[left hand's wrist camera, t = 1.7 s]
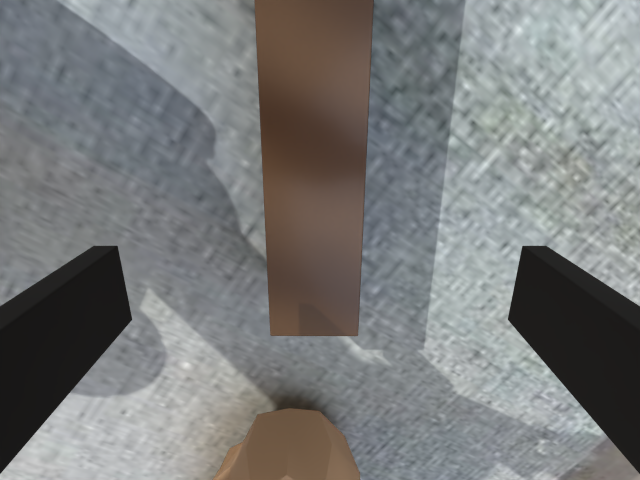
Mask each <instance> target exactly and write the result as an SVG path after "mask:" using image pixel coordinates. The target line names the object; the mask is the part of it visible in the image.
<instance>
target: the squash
mask: <svg viewBox="0 0 640 480" xmlns="http://www.w3.org/2000/svg"><path fill="white" fill-rule="evenodd" d="M213 480H360V472H359V470H358V468H357V465H356V463H355V460H354V458H353V456H352V453H351V451H350V448H349V446H348V443H347V441H346V439H345V436H344V435H343V434H342V433H341V432H340V431H339V430H338V429H337V428H336V427H335V426H334V425H333V424H332V423H331V422H330V421H329V420H328V419H327V418H326V417H325V416H324V415H323V414H322V413H321V412H320V411H314V410H304V409H293V408H287V409H282V410H277V411H272V412H267V413H262V414H258V415H257V417H256V419H255V421H254V423H253V424H252V426H251V428H250V430H249V432H248V434H247V436H246V438H245V439H244V441H243V442H242V443H240V444H238V445H236V446H234V447H232V448H230V449H229V451H228V453H227V455H226V457H225V460H224V462H223V464H222V466H221V468H220V469H219V471H218V472H217V474H216V476H215V477H214V479H213Z"/></svg>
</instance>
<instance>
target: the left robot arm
mask: <svg viewBox="0 0 640 480" xmlns="http://www.w3.org/2000/svg"><path fill="white" fill-rule="evenodd" d="M131 320H132V316H131V311H130V306H129V301H128V296H127V291H126V286H125V281H124V276H123V271H122V266H121V261H120V256H119V251H118V246H93V247H91V248H90V249H88V250H87V251H85V252H84V253H82V254H81V255H79V256H78V257H76V258H74V259H73V260H71V261H70V262H68V263H67V264H65V265H64V266H62V267H60V268H59V269H57V270H56V271H54V272H53V273H51V274H50V275H48V276H47V277H45V278H43V279H42V280H40V281H39V282H37V283H36V284H34V285H33V286H31V287H30V288H28V289H26V290H25V291H23V292H22V293H20V294H19V295H17V296H16V297H14V298H13V299H11V300H9V301H8V302H6V303H5V304H3V305H2V306H0V473H1V472H2V471H3V470H4V469H5V468H6V466H7V465H8V464H9V463H10V462H11V461H12V459H13V458H14V457H15V456H16V455H17V454H18V452H19V451H20V450H21V449H22V448H23V447H24V445H25V444H26V443H27V442H28V441H29V440H30V438H31V437H32V436H33V435H34V434H35V433H36V431H37V430H38V429H39V428H40V427H41V426H42V424H43V423H44V422H45V421H46V420H47V419H48V417H49V416H50V415H51V414H52V413H53V412H54V410H55V409H56V408H57V407H58V406H59V404H60V403H61V402H62V401H63V400H64V399H65V397H66V396H67V395H68V394H69V393H70V392H71V390H72V389H73V388H74V387H75V386H76V385H77V383H78V382H79V381H80V380H81V379H82V378H83V376H84V375H85V374H86V373H87V372H88V371H89V369H90V368H91V367H92V366H93V365H94V364H95V362H96V361H97V360H98V359H99V358H100V357H101V355H102V354H103V353H104V352H105V351H106V350H107V348H108V347H109V346H110V345H111V344H112V342H113V341H114V340H115V339H116V338H117V337H118V335H119V334H120V333H121V332H122V331H123V330H124V328H125V327H126V326H127V325H128V324H129V323H130V321H131ZM508 320H509V321H510V323H511V324H512V325H513V326H514V327H515V328H516V330H517V331H518V332H519V333H520V334H521V335H522V337H523V338H524V339H525V340H526V341H527V342H528V344H529V345H530V346H531V347H532V348H533V350H534V351H535V352H536V353H537V354H538V355H539V357H540V358H541V359H542V360H543V361H544V362H545V364H546V365H547V366H548V367H549V368H550V369H551V371H552V372H553V373H554V374H555V375H556V376H557V378H558V379H559V380H560V381H561V382H562V383H563V385H564V386H565V387H566V388H567V389H568V390H569V392H570V393H571V394H572V395H573V396H574V397H575V399H576V400H577V401H578V402H579V403H580V404H581V406H582V407H583V408H584V409H585V410H586V412H587V413H588V414H589V415H590V416H591V417H592V419H593V420H594V421H595V422H596V423H597V424H598V426H599V427H600V428H601V429H602V430H603V431H604V433H605V434H606V435H607V436H608V437H609V438H610V440H611V441H612V442H613V443H614V444H615V445H616V447H617V448H618V449H619V450H620V451H621V452H622V454H623V455H624V456H625V457H626V458H627V459H628V461H629V462H630V463H631V464H632V465H633V466H634V468H635V469H636V470H637V471H638V472H639V473H640V306H638V305H637V304H635V303H634V302H632V301H631V300H629V299H627V298H626V297H624V296H623V295H621V294H620V293H618V292H617V291H615V290H614V289H612V288H610V287H609V286H607V285H606V284H604V283H603V282H601V281H600V280H598V279H597V278H595V277H593V276H592V275H590V274H589V273H587V272H586V271H584V270H583V269H581V268H580V267H578V266H576V265H575V264H573V263H572V262H570V261H569V260H567V259H566V258H564V257H562V256H561V255H559V254H558V253H556V252H555V251H553V250H552V249H550V248H549V247H547V246H522V251H521V256H520V261H519V266H518V271H517V276H516V281H515V286H514V291H513V296H512V301H511V306H510V311H509V316H508Z"/></svg>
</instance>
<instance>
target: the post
mask: <svg viewBox="0 0 640 480" xmlns="http://www.w3.org/2000/svg"><path fill="white" fill-rule="evenodd" d="M373 5H374V0H255V21H256V42H257V63H258V84H259V105H260V126H261V147H262V168H263V189H264V210H265V231H266V252H267V273H268V294H269V315H270V335H271V336H358V326H359V304H360V283H361V261H362V240H363V219H364V197H365V176H366V154H367V133H368V112H369V90H370V69H371V48H372V26H373Z"/></svg>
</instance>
